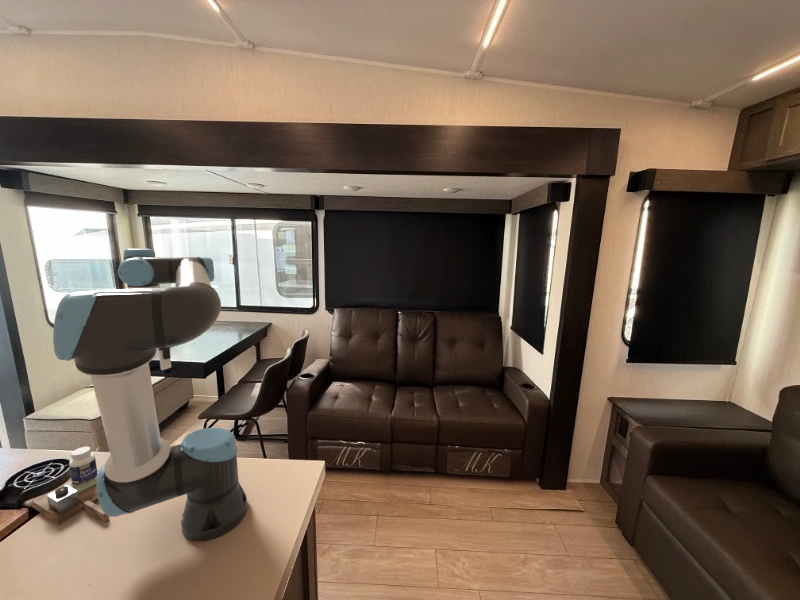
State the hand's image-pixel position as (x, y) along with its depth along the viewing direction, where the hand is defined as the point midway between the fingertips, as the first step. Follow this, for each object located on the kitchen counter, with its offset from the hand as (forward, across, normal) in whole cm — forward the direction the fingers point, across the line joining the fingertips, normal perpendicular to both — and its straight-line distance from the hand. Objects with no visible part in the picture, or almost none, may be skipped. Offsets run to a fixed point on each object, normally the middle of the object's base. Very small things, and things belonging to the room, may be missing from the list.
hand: (152, 364), depth 103 cm
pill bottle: (+30, +5, +18) cm, 36 cm away
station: (+32, -3, +21) cm, 38 cm away
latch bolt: (+30, -1, +25) cm, 39 cm away
